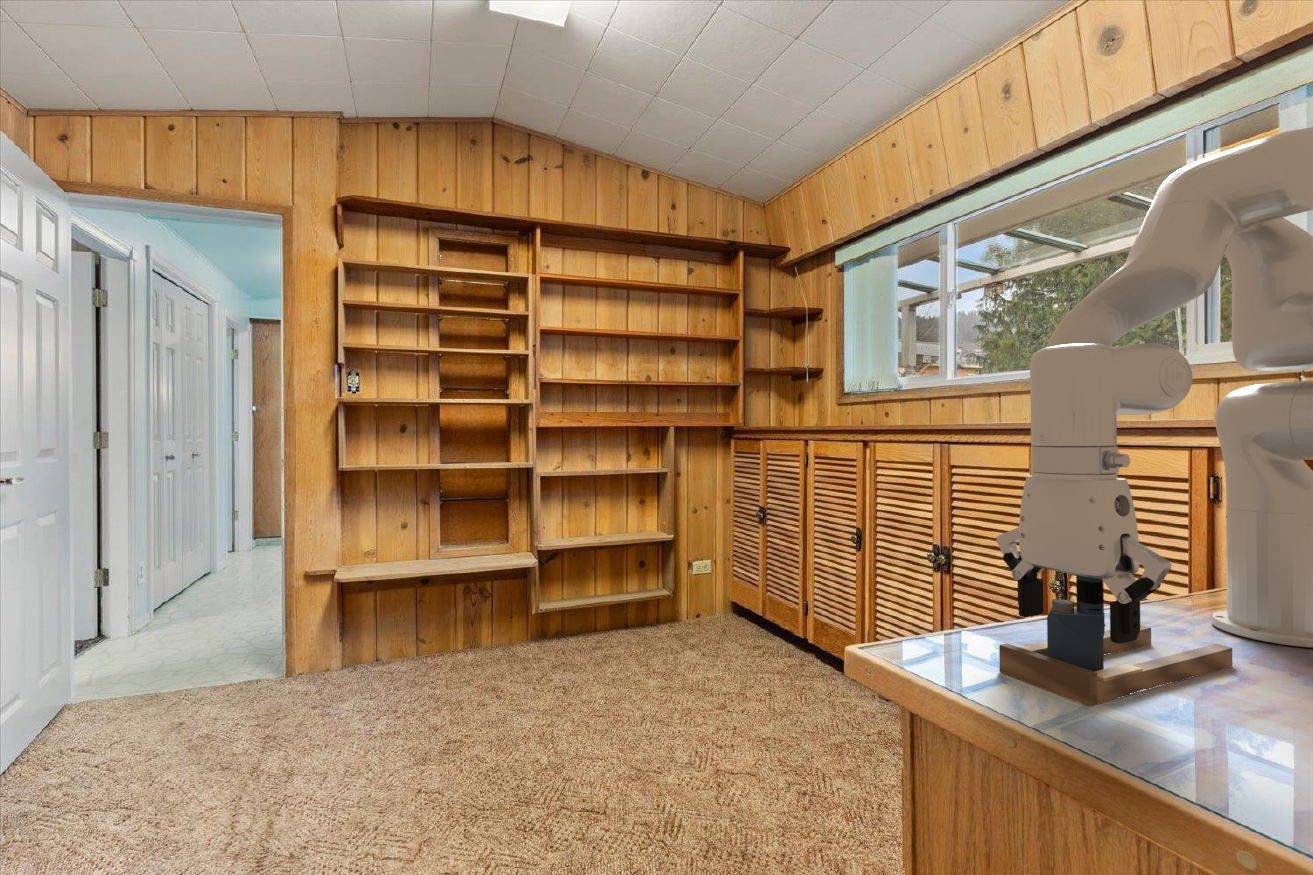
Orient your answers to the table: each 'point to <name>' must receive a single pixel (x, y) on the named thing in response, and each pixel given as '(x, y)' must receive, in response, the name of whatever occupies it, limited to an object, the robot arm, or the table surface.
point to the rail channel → (1108, 669)
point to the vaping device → (1078, 626)
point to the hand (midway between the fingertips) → (1074, 627)
